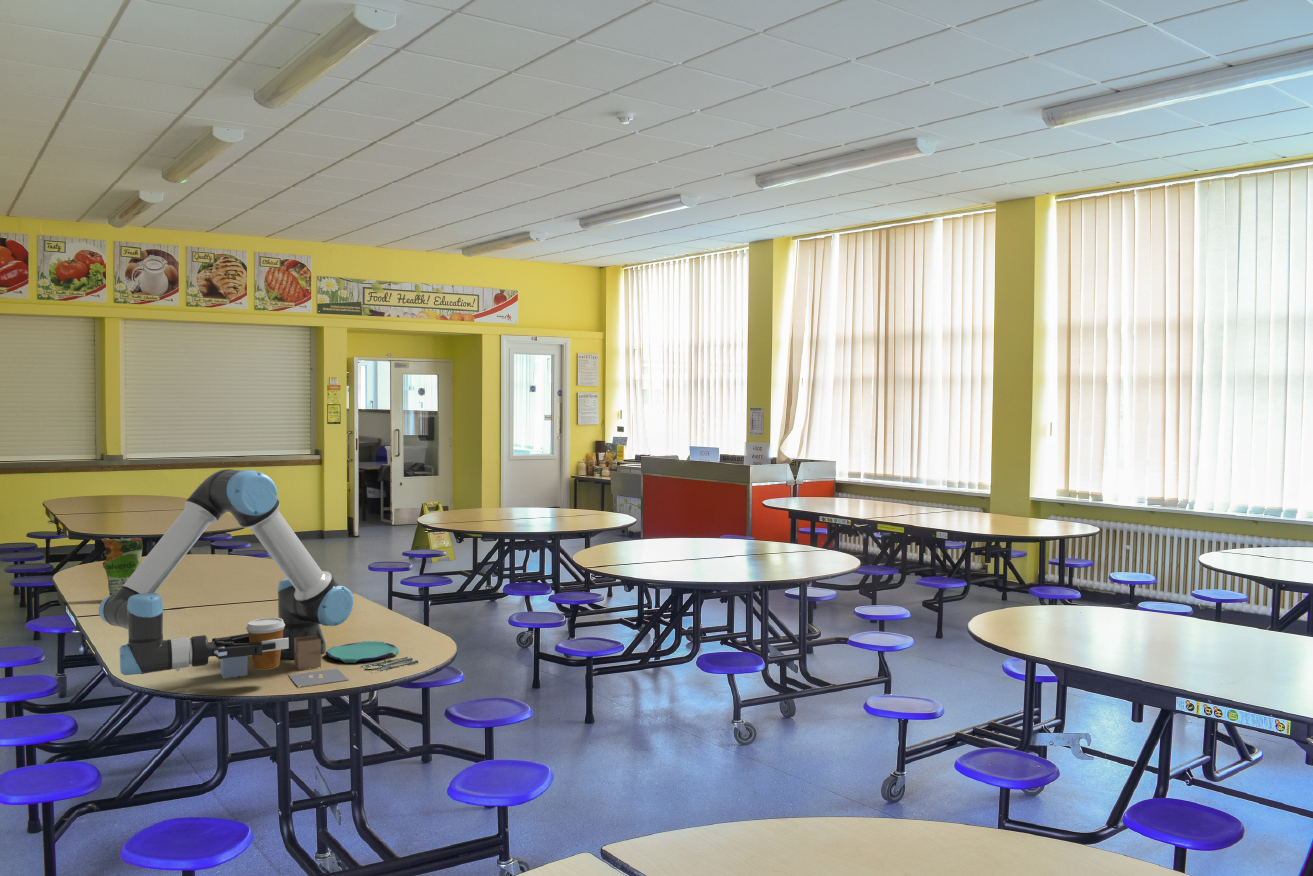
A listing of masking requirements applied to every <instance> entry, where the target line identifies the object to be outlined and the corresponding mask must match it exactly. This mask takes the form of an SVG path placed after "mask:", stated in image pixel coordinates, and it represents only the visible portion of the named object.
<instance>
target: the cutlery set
mask: <svg viewBox="0 0 1313 876" xmlns="http://www.w3.org/2000/svg"><path fill="white" fill-rule="evenodd" d="M399 651H400V649H399V648H398V647H397V646H396V645H394V644H393V643H388V642H384V641H380V640H378V641H377V640H374V641H373V640H370V641H369V640H367V641H366V640H365V641H361V642H353V643H352V642H351V643H345V644H342V645H336V646H332V647H330V648H329V649H327V650H326V651H325V654H326V656H327V657H329V658H331V660H332V659H333V660H336V661H342V662H343V663H345V664H356V663H357V662H370V661H376V660H380V659H384V658H386V657H390V656H391V655H393V654H394V655H395V656H398V654H399V653H400V652H399ZM386 662H387V663H386ZM404 662H405V663H404ZM381 663H382V664H381ZM398 663H399V664H398ZM400 663H401V664H400ZM402 663H403V664H402ZM415 663H418V664H419V660H417V659H415V660H413V657H408V656H404V657H401V658H394V659H387V660H386V659H384V660H383V661H378V662H377V661H376V662H373V663H368V664H363V665H360V668H361V667H362V668H364V669H366V670H367V668H369V667H371V666H369V665H372V666H378V667H372V668H369V670H370V669H371V670H370V671H373V670H372V669H375V670H377V671H380V672H384V671H383V670H386V671H389V670H391V669H396V668H400V667H399V666H403V667H405V666H404V665H408V666H410V665H411V664H412V665H416V664H415ZM374 664H377V665H374ZM391 664H392V665H391ZM395 664H397V665H395ZM386 665H388V666H386ZM412 665H411V666H412ZM363 666H367V667H363ZM381 666H382V667H381ZM383 666H384V667H383ZM379 668H380V669H379ZM388 669H389V670H388ZM369 670H368V671H369Z"/></svg>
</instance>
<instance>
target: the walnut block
mask: <svg viewBox="0 0 1313 876" xmlns="http://www.w3.org/2000/svg"><path fill="white" fill-rule="evenodd" d="M294 665H295V666H296V667H295V666H294V667H295V668H296V669H297V671H303V669H306V670H310V669H309V668H313V669H318V667H320V668H322V654H321V639H320V638H319V637H318V636H316V635H315V636H306V637H297V638H294Z"/></svg>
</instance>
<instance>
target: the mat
mask: <svg viewBox="0 0 1313 876" xmlns="http://www.w3.org/2000/svg"><path fill="white" fill-rule="evenodd" d="M319 674H322V675H323V678H318V677H319ZM309 675H313V678H309ZM288 677H289V678H290V680H291V679H292V680H291V681H292V682H293V683H294V685H295V684H296V685H297V686H300V685H301V687H300V688H304V687H303V686H307V687H311V686H310V685H314V686H317V685H316V684H320V685H325V684H324V683H327V684H333V682H334V683H339V682H346V681H347V680H348V681H349V678H348V677H347V676H345V675H344V673H343V672H341V670H340V669H339V668H332V669H325V670H317V671H310V672H302V673H296V674H289V676H288ZM302 677H303V678H302ZM348 681H347V682H348ZM296 685H295V686H296ZM297 686H296V687H297Z"/></svg>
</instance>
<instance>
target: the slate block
mask: <svg viewBox="0 0 1313 876" xmlns="http://www.w3.org/2000/svg"><path fill="white" fill-rule="evenodd" d="M219 661H220V675H221V677H222V679H232V678H231V677H233V678H239V677H238V676H240V677H245V675H247V676H248V656H240V657H230V658H224V659H219Z"/></svg>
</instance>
